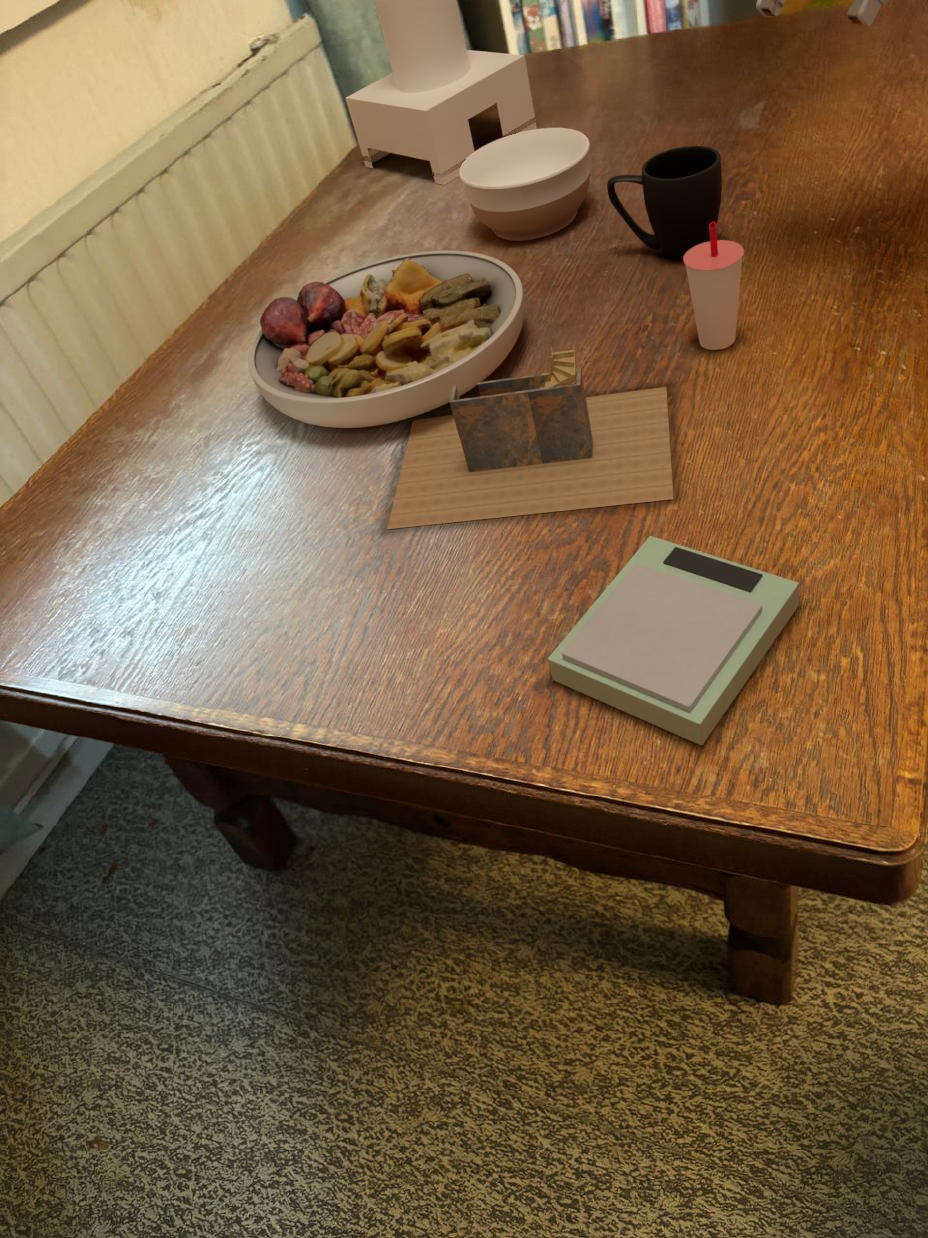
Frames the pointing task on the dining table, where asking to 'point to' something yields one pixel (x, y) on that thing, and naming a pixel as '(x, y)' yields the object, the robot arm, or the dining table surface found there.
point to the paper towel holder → (435, 88)
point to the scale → (675, 637)
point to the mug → (676, 198)
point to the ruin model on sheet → (535, 451)
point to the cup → (715, 289)
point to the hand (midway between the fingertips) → (810, 16)
